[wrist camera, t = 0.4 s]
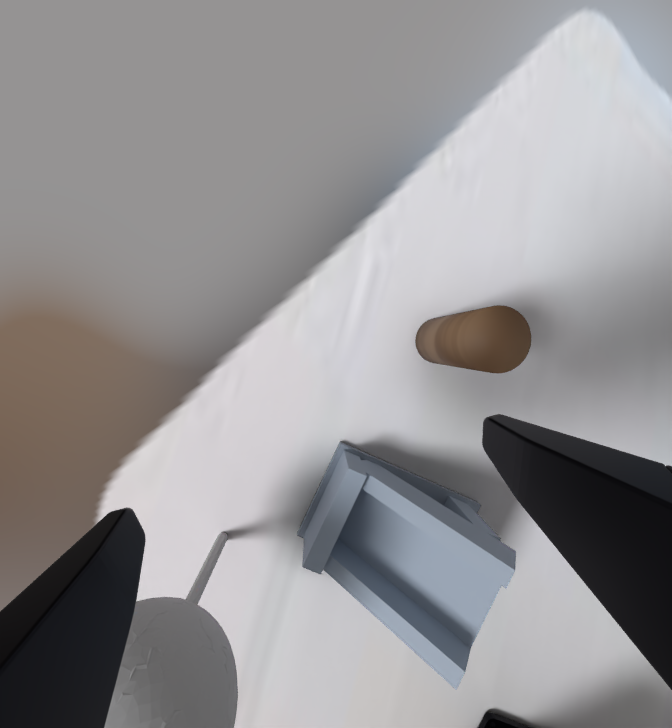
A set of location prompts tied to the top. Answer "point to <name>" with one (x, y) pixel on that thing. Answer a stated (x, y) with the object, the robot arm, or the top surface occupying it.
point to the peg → (476, 339)
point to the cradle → (407, 555)
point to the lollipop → (176, 664)
